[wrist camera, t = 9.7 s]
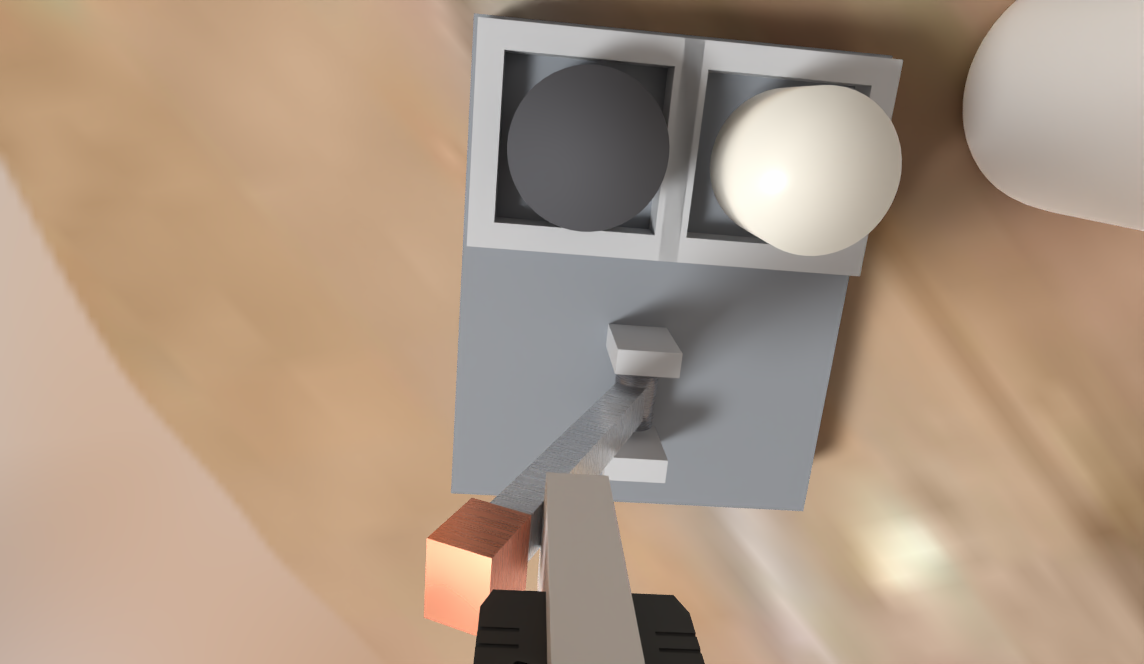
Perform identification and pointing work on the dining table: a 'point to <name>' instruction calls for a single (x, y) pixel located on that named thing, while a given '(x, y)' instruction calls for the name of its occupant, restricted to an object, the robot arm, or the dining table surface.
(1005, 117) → the mug
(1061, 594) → the dining table surface
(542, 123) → the button black
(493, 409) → the panel
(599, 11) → the dining table surface
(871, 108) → the button ivory
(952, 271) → the dining table surface
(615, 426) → the lever
